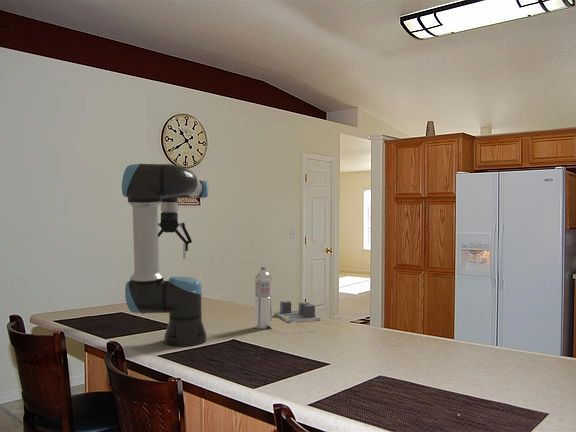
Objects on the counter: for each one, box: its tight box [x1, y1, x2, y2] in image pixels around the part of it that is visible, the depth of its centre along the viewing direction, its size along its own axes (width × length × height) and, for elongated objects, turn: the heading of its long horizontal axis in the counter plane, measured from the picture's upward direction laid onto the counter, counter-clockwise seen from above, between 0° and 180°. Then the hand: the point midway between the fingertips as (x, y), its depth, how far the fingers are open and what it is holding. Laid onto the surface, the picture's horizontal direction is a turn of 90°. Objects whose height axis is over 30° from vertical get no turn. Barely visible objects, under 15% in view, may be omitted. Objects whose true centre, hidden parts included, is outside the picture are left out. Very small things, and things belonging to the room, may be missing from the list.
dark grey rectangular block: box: [303, 303, 316, 318], centre depth 215 cm, size 4×4×6 cm
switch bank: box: [274, 309, 321, 323], centre depth 220 cm, size 19×15×3 cm
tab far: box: [279, 300, 292, 314], centre depth 225 cm, size 4×4×6 cm
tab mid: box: [298, 301, 311, 315], centre depth 221 cm, size 4×4×6 cm
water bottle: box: [254, 266, 273, 330], centre depth 205 cm, size 7×7×25 cm
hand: (169, 259), depth 225 cm, fingers open, 13 cm apart
